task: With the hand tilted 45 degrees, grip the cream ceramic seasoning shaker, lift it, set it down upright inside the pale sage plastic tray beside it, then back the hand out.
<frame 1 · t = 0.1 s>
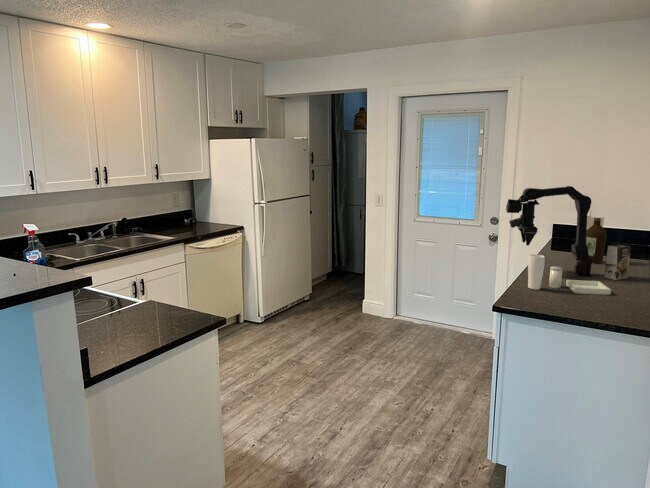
hand: (525, 243, 252), 15 cm above the counter, tool pointing down, fingers open, 9 cm apart
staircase: (590, 251, 311), on the counter
tray: (587, 289, 222), on the counter
olive oil: (592, 262, 278), on the counter
drinking glass: (534, 288, 224), on the counter
shaker: (554, 286, 227), on the counter
coffee box: (615, 278, 244), on the counter
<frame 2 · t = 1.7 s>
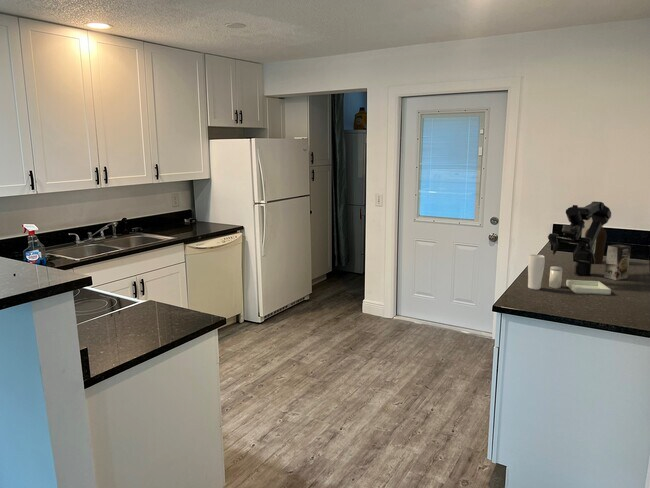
hand: (563, 255, 230), 13 cm above the counter, tool tilted 45°, fingers open, 9 cm apart
nothing on the counter moved.
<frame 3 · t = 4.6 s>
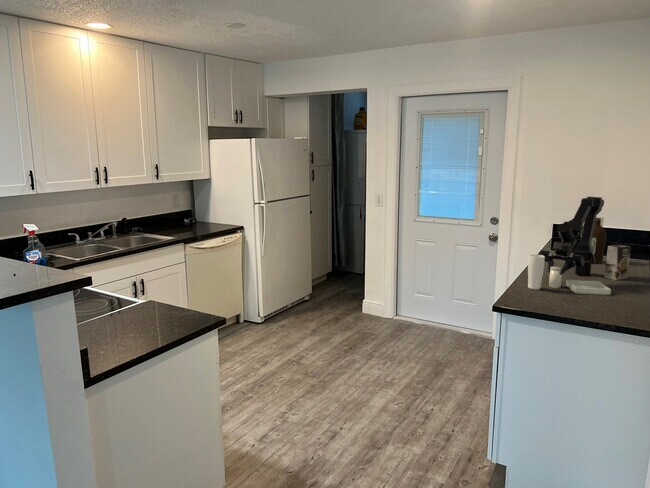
hand: (554, 273, 225), 7 cm above the counter, tool tilted 45°, fingers closed on shaker, 5 cm apart
shaker: (554, 286, 227), on the counter, touching gripper
everything else where it was.
when the fingers open (8 cm above the counter, at t = 8.5 s): shaker drops 1 cm, resting on tray.
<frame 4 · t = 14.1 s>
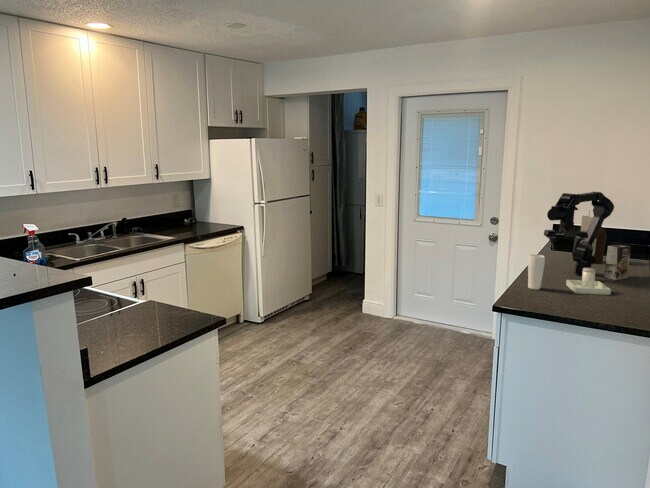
hand: (564, 251, 242), 13 cm above the counter, tool pointing down, fingers open, 9 cm apart
shaker: (587, 288, 222), point 1 cm above the counter, touching tray
everything else where it was.
at the end: shaker inside the target area on the tray (0.0 cm from its centre), point 0.7 cm above the tray's base; shaker tilted 1°; the gripper is holding nothing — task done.
